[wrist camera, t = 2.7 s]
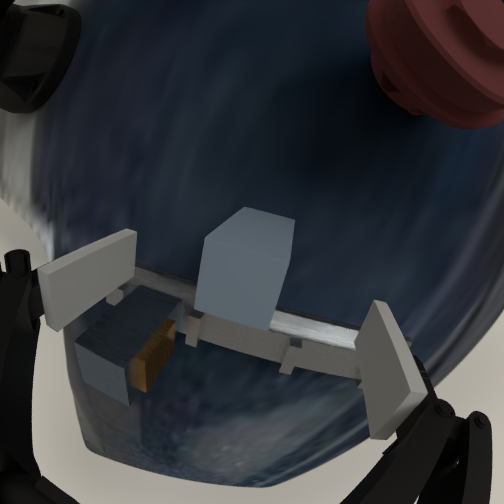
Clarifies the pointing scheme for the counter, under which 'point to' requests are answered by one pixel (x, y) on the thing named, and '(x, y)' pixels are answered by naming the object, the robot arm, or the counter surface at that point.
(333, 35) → the counter surface
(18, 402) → the robot arm
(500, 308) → the counter surface
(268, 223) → the pale blue-grey block
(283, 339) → the rail
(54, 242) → the counter surface
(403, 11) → the mechanical component
